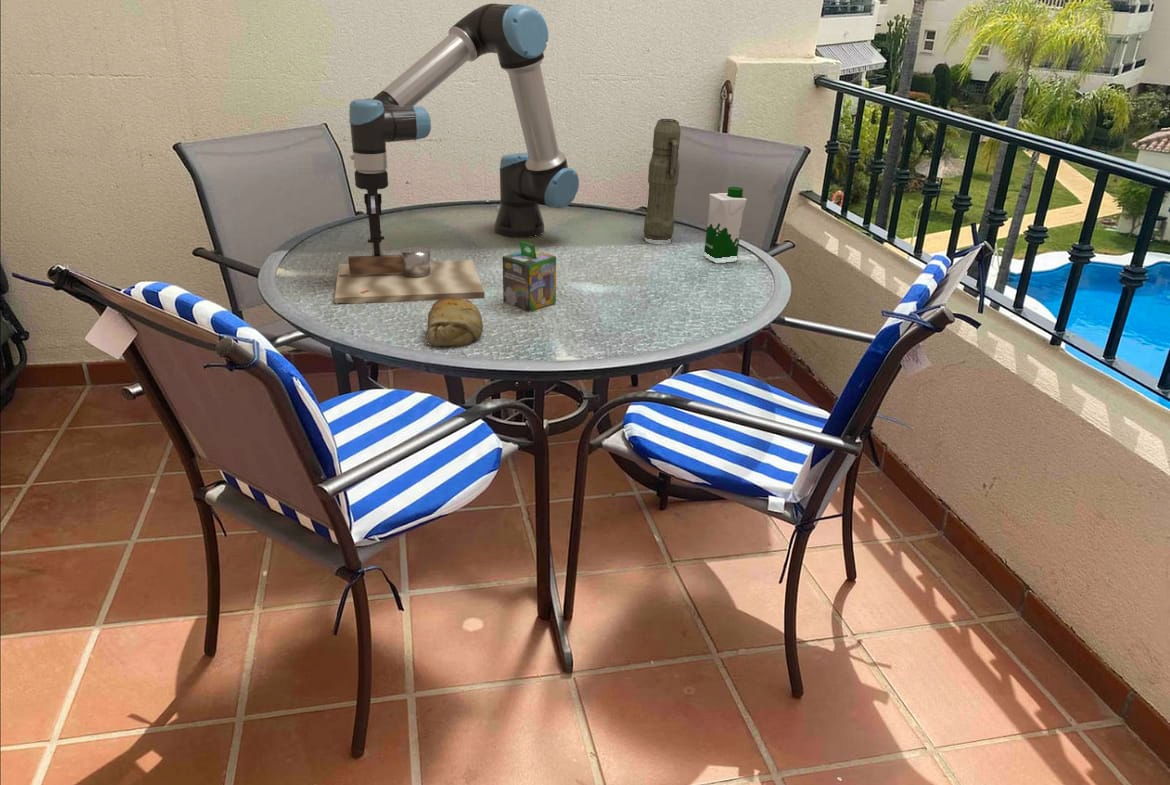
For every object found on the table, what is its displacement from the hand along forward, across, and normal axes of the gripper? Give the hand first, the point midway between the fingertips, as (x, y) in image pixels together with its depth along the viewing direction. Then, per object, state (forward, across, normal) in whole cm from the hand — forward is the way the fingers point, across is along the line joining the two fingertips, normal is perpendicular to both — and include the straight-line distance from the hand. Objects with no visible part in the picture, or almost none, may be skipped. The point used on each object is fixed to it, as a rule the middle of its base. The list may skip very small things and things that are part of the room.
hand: (378, 266), depth 194 cm
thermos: (+3, -27, +82) cm, 86 cm away
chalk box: (+3, +21, +34) cm, 40 cm away
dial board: (+3, +4, +7) cm, 9 cm away
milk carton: (+3, -7, +94) cm, 94 cm away
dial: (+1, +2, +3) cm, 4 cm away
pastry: (+3, +39, +15) cm, 42 cm away
